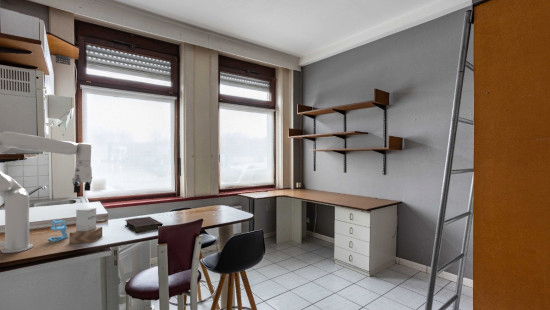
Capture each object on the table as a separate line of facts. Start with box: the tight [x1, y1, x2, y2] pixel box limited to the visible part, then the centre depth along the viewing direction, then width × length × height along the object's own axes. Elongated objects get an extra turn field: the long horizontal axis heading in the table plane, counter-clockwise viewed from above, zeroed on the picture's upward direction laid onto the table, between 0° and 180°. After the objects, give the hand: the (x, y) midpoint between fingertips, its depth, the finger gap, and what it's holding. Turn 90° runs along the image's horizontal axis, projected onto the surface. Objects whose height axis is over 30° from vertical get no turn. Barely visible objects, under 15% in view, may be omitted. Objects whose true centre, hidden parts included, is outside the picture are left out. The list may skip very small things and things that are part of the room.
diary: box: [124, 216, 164, 234], centre depth 196 cm, size 19×25×5 cm
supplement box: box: [75, 207, 97, 231], centre depth 167 cm, size 7×7×13 cm
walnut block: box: [68, 226, 103, 244], centre depth 167 cm, size 12×12×6 cm
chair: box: [47, 219, 69, 243], centre depth 168 cm, size 8×8×12 cm
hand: (82, 191), depth 169 cm, fingers open, 9 cm apart
